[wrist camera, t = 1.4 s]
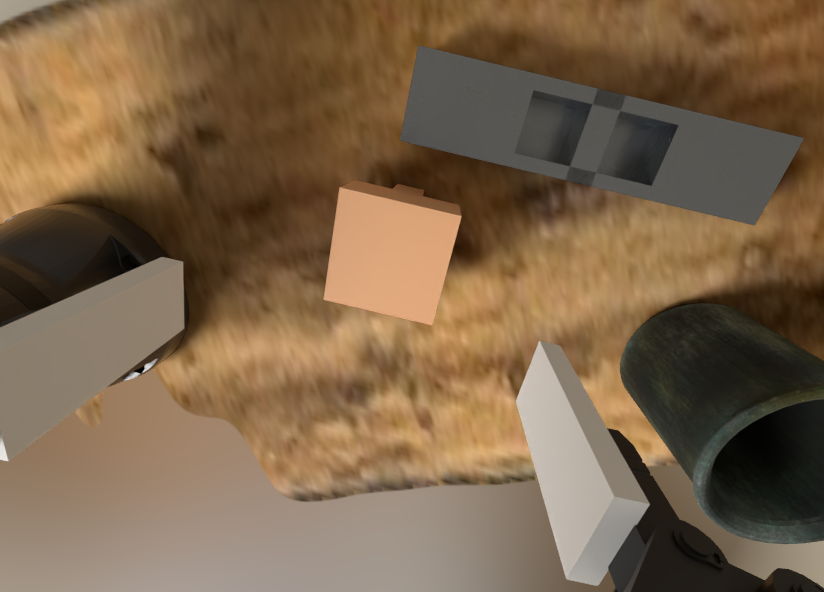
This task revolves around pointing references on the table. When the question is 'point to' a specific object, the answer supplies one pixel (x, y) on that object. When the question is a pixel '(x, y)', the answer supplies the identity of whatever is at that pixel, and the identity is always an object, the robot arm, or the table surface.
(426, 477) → the table surface
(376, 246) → the tan block with tab
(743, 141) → the rail
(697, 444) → the mug
